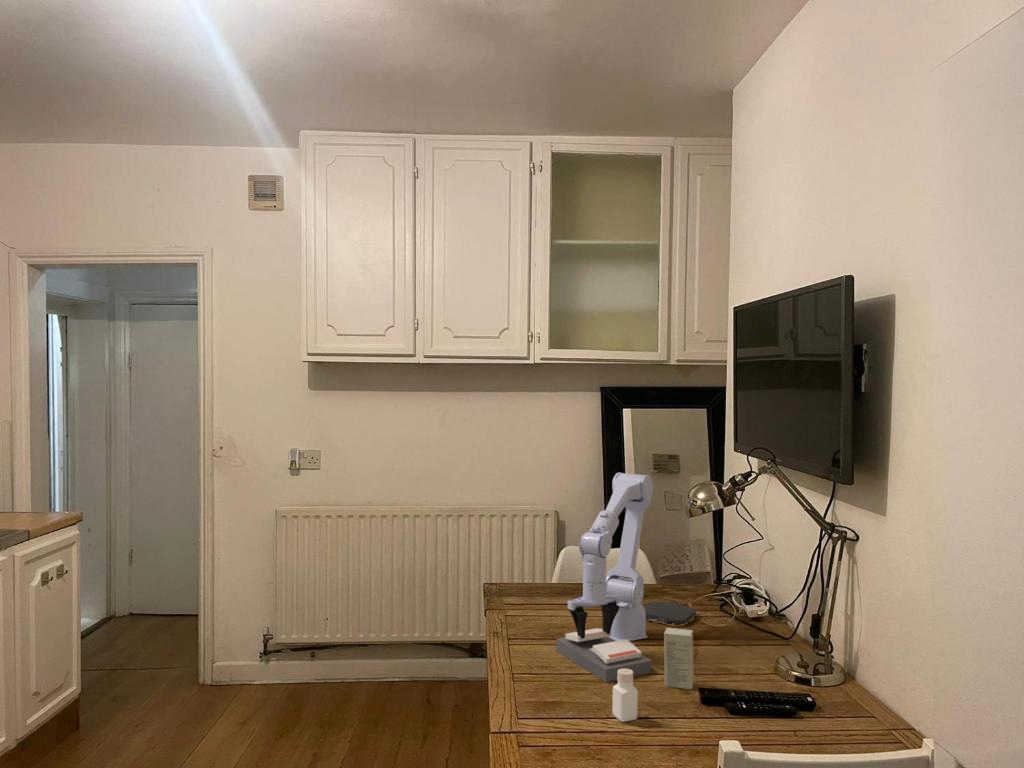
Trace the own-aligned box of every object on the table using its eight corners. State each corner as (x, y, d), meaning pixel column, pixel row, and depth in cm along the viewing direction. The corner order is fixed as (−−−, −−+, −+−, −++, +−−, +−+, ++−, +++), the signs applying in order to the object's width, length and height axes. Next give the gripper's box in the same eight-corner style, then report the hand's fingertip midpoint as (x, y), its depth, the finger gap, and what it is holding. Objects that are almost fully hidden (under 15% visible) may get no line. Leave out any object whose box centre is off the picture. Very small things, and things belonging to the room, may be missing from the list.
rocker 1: (598, 633, 189) (598, 628, 189) (611, 636, 184) (611, 631, 184) (565, 638, 184) (565, 633, 185) (578, 642, 179) (578, 636, 179)
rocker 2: (626, 643, 178) (626, 639, 178) (640, 656, 173) (641, 652, 173) (592, 650, 174) (592, 645, 173) (606, 663, 168) (607, 659, 168)
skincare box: (693, 683, 167) (694, 629, 167) (692, 690, 162) (692, 636, 162) (665, 678, 169) (666, 626, 169) (663, 686, 165) (663, 632, 165)
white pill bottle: (621, 723, 146) (622, 676, 146) (611, 715, 150) (611, 669, 150) (638, 720, 148) (639, 673, 148) (627, 711, 151) (628, 666, 151)
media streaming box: (699, 616, 216) (699, 606, 216) (682, 630, 203) (683, 619, 203) (652, 607, 224) (653, 598, 224) (634, 620, 211) (634, 610, 211)
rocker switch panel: (598, 642, 191) (598, 630, 191) (651, 672, 172) (651, 659, 172) (556, 650, 185) (556, 638, 185) (605, 682, 166) (606, 668, 166)
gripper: (609, 574, 189) (608, 626, 189) (561, 579, 182) (560, 634, 182) (625, 580, 183) (624, 634, 183) (576, 586, 176) (575, 642, 176)
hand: (593, 635), depth 182 cm, fingers open, 7 cm apart
